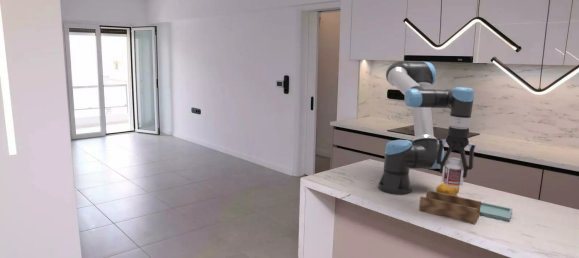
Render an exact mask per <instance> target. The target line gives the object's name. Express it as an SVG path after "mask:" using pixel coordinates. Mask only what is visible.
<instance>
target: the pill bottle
mask: <svg viewBox="0 0 579 258" xmlns="http://www.w3.org/2000/svg"><path fill="white" fill-rule="evenodd" d="M447 161H448V162H447V163H445V165H446V168H445V177H444V182H443V183H444V184H445V185H446V186H449V187H459V188H460V186H459V185H460V177H461V170H462V169H463V164H462V159H461V158H458V157H448V159H447Z"/></svg>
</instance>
